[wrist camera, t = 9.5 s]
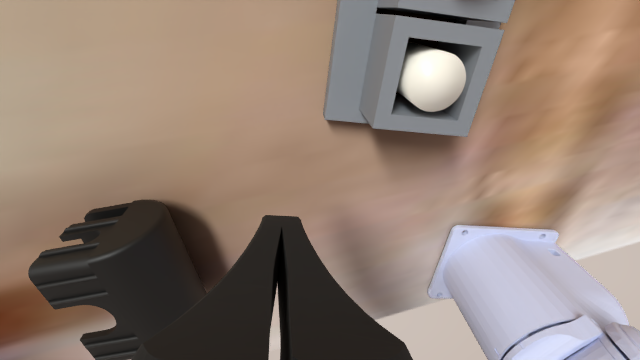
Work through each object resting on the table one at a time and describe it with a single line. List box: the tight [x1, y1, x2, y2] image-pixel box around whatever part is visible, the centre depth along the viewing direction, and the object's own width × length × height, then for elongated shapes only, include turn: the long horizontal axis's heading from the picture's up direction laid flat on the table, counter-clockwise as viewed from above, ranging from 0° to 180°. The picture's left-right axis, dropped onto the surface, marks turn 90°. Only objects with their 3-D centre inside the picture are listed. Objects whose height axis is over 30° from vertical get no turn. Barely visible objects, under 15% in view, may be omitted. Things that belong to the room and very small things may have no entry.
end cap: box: [28, 200, 207, 360], centre depth 22 cm, size 10×7×7 cm
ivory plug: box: [397, 42, 466, 112], centre depth 17 cm, size 3×3×5 cm
